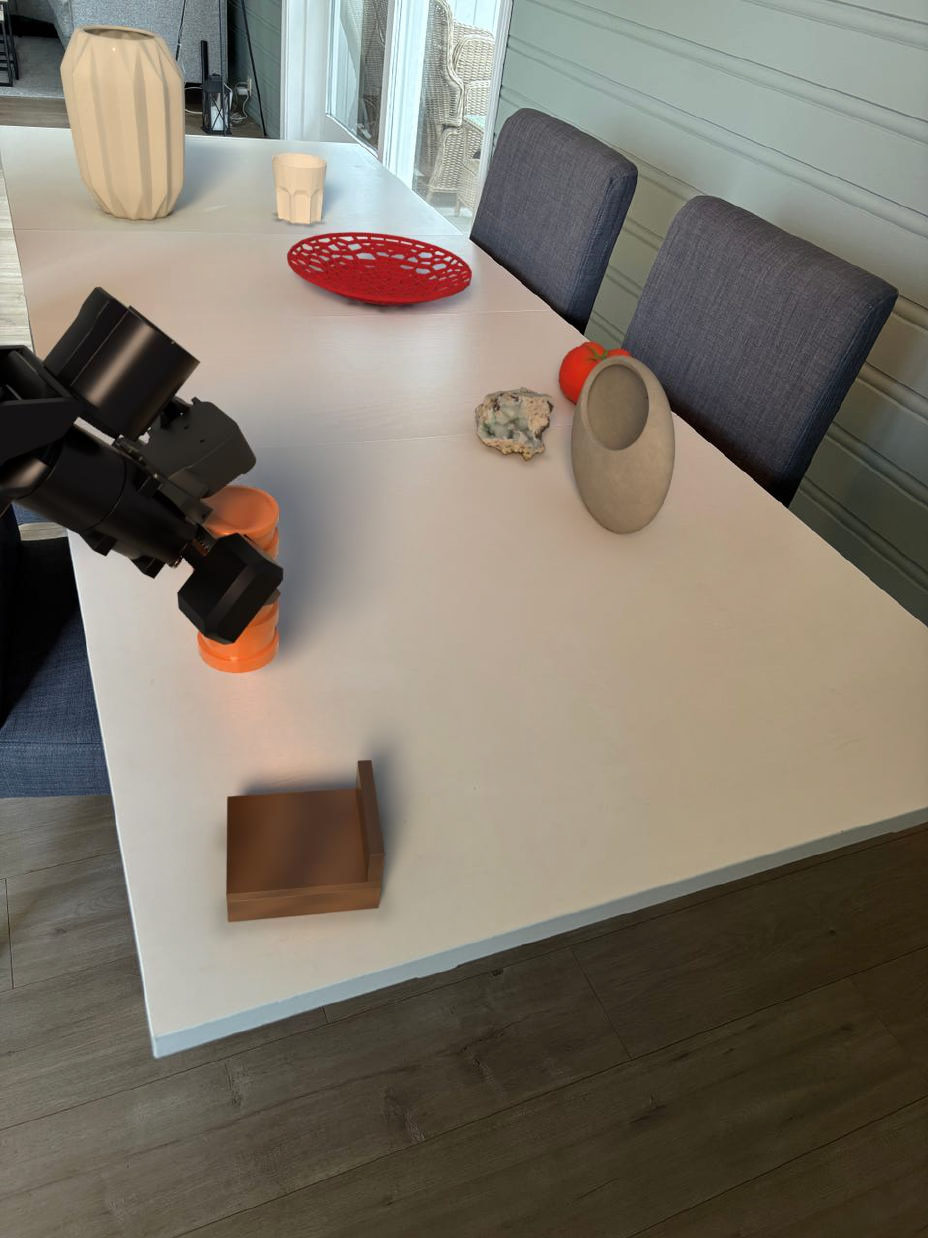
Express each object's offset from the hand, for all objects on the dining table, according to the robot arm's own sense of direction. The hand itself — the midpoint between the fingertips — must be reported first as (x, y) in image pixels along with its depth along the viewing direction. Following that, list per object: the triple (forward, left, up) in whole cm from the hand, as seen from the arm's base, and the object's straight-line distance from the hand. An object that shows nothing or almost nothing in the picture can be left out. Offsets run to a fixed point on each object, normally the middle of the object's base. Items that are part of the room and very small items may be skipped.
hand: (252, 574), depth 69 cm
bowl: (+21, +91, -13) cm, 94 cm away
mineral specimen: (+32, +44, -13) cm, 56 cm away
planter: (+39, +26, -13) cm, 48 cm away
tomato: (+47, +55, -13) cm, 73 cm away
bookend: (+3, -18, -12) cm, 22 cm away
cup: (+10, +128, -13) cm, 129 cm away
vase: (-19, +125, -13) cm, 127 cm away
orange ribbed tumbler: (-1, -1, -7) cm, 7 cm away
